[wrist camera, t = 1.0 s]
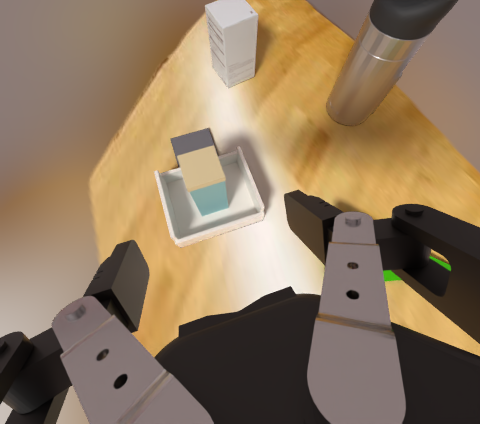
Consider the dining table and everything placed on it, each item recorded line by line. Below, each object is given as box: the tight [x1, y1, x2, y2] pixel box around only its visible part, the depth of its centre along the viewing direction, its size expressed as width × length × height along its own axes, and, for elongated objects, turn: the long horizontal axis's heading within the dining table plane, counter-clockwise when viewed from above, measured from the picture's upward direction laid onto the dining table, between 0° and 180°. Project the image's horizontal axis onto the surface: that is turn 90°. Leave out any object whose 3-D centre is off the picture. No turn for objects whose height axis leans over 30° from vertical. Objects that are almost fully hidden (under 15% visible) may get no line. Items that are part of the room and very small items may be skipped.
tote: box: [154, 146, 265, 248], centre depth 39 cm, size 15×13×6 cm
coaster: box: [171, 128, 218, 168], centre depth 45 cm, size 8×8×1 cm
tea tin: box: [177, 145, 229, 216], centre depth 36 cm, size 5×5×12 cm
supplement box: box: [205, 0, 258, 88], centre depth 46 cm, size 7×7×13 cm
